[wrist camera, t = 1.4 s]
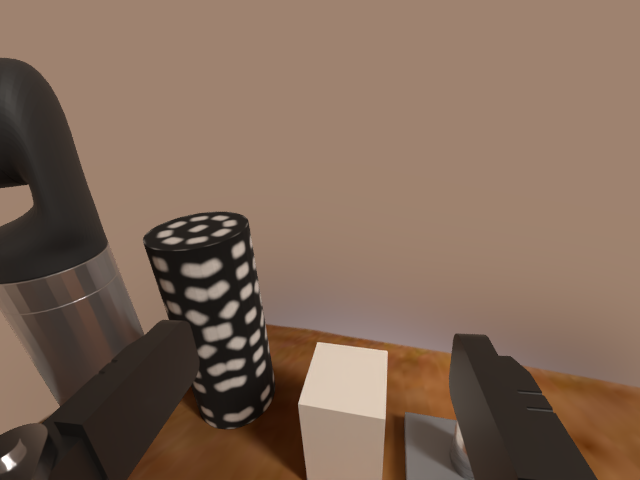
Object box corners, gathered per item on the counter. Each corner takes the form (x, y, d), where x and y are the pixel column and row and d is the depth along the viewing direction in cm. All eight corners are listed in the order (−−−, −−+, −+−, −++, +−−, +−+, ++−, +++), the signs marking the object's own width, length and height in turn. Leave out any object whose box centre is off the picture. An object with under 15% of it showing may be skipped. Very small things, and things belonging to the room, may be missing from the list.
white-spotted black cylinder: (234, 355, 39) (200, 208, 30) (289, 376, 35) (267, 217, 27) (182, 410, 32) (119, 241, 24) (243, 443, 28) (195, 259, 20)
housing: (307, 483, 25) (298, 404, 21) (323, 417, 30) (317, 342, 26) (380, 501, 24) (385, 419, 20) (383, 428, 29) (387, 351, 25)
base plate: (406, 507, 23) (412, 457, 21) (404, 422, 29) (408, 374, 27) (553, 542, 21) (582, 492, 18) (517, 442, 27) (535, 392, 25)
